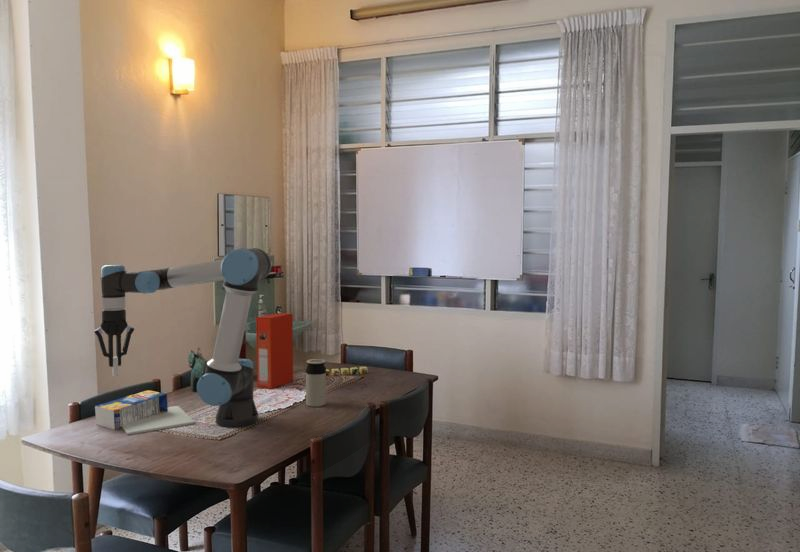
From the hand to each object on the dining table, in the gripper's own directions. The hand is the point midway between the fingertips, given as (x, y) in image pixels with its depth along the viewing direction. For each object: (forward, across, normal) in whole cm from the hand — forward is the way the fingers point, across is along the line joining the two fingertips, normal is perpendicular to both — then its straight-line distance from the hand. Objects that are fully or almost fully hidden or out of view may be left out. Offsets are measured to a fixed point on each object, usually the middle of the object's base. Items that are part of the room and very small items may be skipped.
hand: (115, 375), depth 208 cm
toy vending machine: (+19, -57, -47) cm, 76 cm away
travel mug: (+19, -72, +13) cm, 75 cm away
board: (+18, -13, 0) cm, 22 cm away
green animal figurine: (+19, -38, -28) cm, 51 cm away
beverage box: (+15, +4, -1) cm, 16 cm away
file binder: (+19, -71, -27) cm, 78 cm away
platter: (+19, -108, -25) cm, 112 cm away
